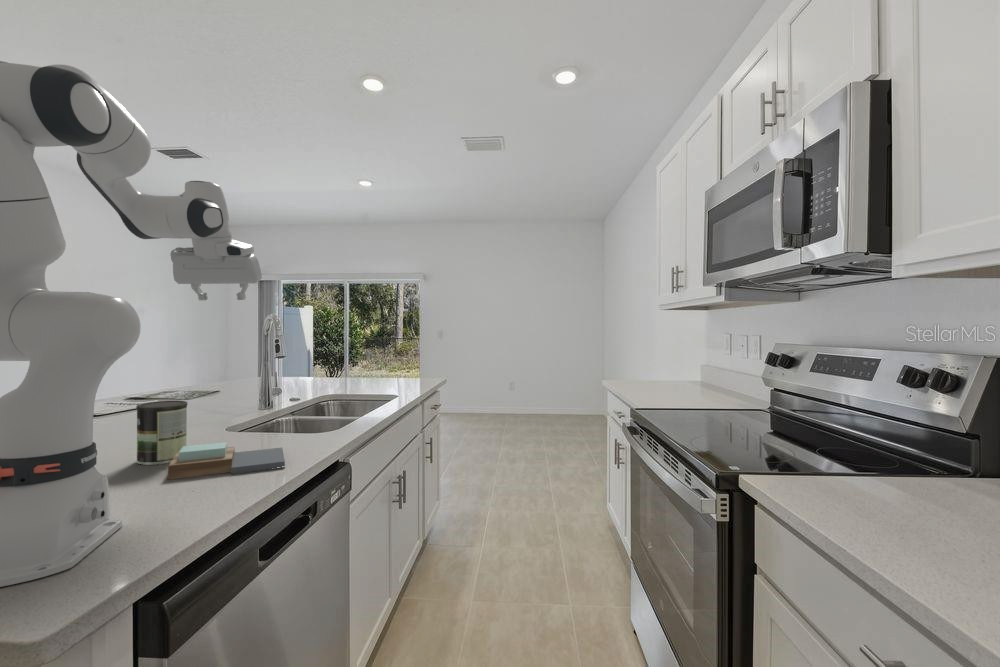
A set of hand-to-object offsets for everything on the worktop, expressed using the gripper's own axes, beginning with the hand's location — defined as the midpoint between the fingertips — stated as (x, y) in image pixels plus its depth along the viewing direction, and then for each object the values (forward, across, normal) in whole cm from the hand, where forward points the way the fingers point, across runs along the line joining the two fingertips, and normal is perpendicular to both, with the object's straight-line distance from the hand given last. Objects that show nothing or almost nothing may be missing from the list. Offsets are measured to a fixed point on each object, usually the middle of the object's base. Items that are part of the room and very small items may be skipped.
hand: (222, 299), depth 120 cm
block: (+32, +1, -25) cm, 41 cm away
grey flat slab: (+36, +12, -23) cm, 44 cm away
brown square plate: (+35, 0, -26) cm, 43 cm away
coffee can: (+37, -13, -17) cm, 43 cm away
